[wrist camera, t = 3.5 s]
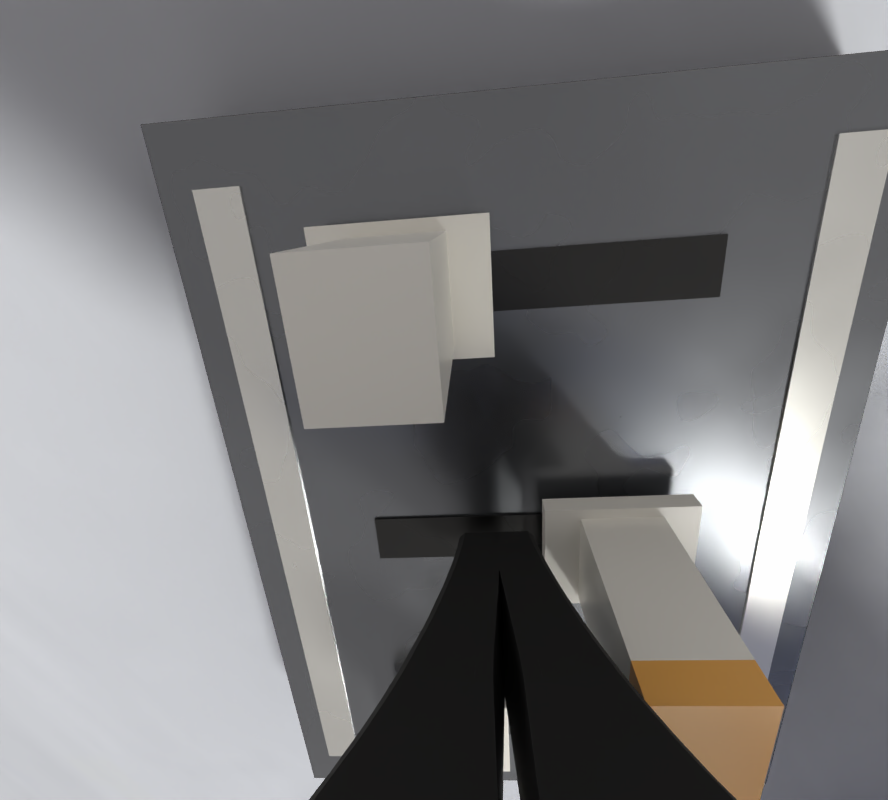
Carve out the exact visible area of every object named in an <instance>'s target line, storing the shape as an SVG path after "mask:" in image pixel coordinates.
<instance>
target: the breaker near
mask: <svg viewBox="0 0 888 800" xmlns="http://www.w3.org/2000/svg"><path fill="white" fill-rule="evenodd" d="M303 228H304V233H305V239H306V245H307V246H305V247H300V248H295V249H290V250H285V251H280V252H276V253H271V254H270V259H271V264H272V269H273V274H274V279H275V284H276V289H277V294H278V299H279V304H280V309H281V315H282V320H283V325H284V330H285V335H286V340H287V345H288V350H289V355H290V360H291V365H292V370H293V375H294V380H295V385H296V390H297V395H298V401H299V406H300V411H301V416H302V421H303V426H304V429H319V428H341V427H363V426H384V425H406V424H428V423H444V420H445V412H446V405H447V397H448V390H449V382H450V375H451V368H452V360H453V359H468V358H486V357H495V350H494V323H493V296H492V270H491V243H490V216H489V212H488V213H476V214H463V215H451V216H438V217H426V218H413V219H400V220H388V221H375V222H363V223H350V224H338V225H325V226H312V227H303Z"/></svg>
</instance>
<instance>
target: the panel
mask: <svg viewBox="0 0 888 800" xmlns="http://www.w3.org/2000/svg"><path fill="white" fill-rule="evenodd" d="M141 128H142V131H143V135H144V139H145V143H146V146H147V150H148V154H149V158H150V161H151V165H152V169H153V173H154V176H155V180H156V184H157V188H158V191H159V195H160V199H161V203H162V206H163V210H164V214H165V218H166V221H167V225H168V229H169V233H170V237H171V240H172V244H173V248H174V252H175V255H176V259H177V263H178V267H179V270H180V274H181V278H182V282H183V285H184V289H185V293H186V297H187V300H188V304H189V308H190V312H191V315H192V319H193V323H194V327H195V330H196V334H197V338H198V342H199V345H200V349H201V353H202V357H203V361H204V364H205V368H206V372H207V376H208V379H209V383H210V387H211V391H212V394H213V398H214V402H215V406H216V409H217V413H218V417H219V421H220V424H221V428H222V432H223V436H224V439H225V443H226V447H227V451H228V454H229V458H230V462H231V466H232V470H233V473H234V477H235V481H236V485H237V488H238V492H239V496H240V500H241V503H242V507H243V511H244V515H245V518H246V522H247V526H248V530H249V533H250V537H251V541H252V545H253V548H254V552H255V556H256V560H257V563H258V567H259V571H260V575H261V579H262V582H263V586H264V590H265V594H266V597H267V601H268V605H269V609H270V612H271V616H272V620H273V624H274V627H275V631H276V635H277V639H278V642H279V646H280V650H281V654H282V657H283V661H284V665H285V669H286V672H287V676H288V680H289V684H290V688H291V691H292V695H293V699H294V703H295V706H296V710H297V714H298V718H299V721H300V725H301V729H302V733H303V736H304V740H305V744H306V748H307V751H308V755H309V759H310V763H311V766H312V770H313V774H314V778H326V777H327V776H328V774H329V773H330V772H331V770H332V769H333V767H334V766H335V765H336V763H337V762H338V761H339V759H340V758H341V756H342V755H343V754H344V752H345V751H346V750H347V748H348V747H349V745H350V744H351V743H352V741H353V740H354V739H355V737H356V736H357V734H358V733H359V732H360V730H361V729H362V727H363V726H364V724H365V723H366V721H367V720H368V718H369V717H370V715H371V714H372V712H373V711H374V709H375V708H376V706H377V705H378V703H379V702H380V700H381V699H382V697H383V696H384V694H385V692H386V691H387V689H388V688H389V686H390V684H391V683H392V681H393V679H394V678H395V676H396V675H397V673H398V671H399V670H400V668H401V666H402V664H403V663H404V661H405V659H406V657H407V655H408V654H409V652H410V650H411V648H412V646H413V645H414V643H415V641H416V639H417V637H418V636H419V634H420V632H421V630H422V628H423V626H424V625H425V623H426V621H427V619H428V617H429V615H430V612H431V610H432V608H433V606H434V604H435V602H436V600H437V598H438V595H439V593H440V591H441V589H442V587H443V585H444V582H445V580H446V577H447V575H448V572H449V570H450V567H451V565H452V562H453V559H454V556H455V553H456V550H457V546H458V542H459V538H460V537H461V536H462V535H463V534H464V533H471V532H505V531H528V532H530V533H531V534H532V535H533V536H534V538H535V541H536V543H537V545H538V547H539V549H540V551H541V553H542V499H558V498H589V497H619V496H650V495H681V494H694V496H695V497H696V498H697V500H698V501H699V502H700V503H701V505H702V506H703V508H702V515H701V522H700V529H699V536H698V544H697V551H696V558H695V566H696V567H697V569H698V571H699V572H700V574H701V575H702V577H703V578H704V580H705V582H706V583H707V585H708V586H709V588H710V589H711V591H712V593H713V594H714V596H715V597H716V599H717V601H718V602H719V604H720V605H721V607H722V608H723V610H724V612H725V613H726V615H727V616H728V618H729V620H730V621H731V623H732V624H733V626H734V627H735V629H736V631H737V632H738V634H739V635H740V637H741V638H742V640H743V642H744V643H745V645H746V646H747V648H748V650H749V651H750V653H751V654H752V656H753V657H754V659H755V661H756V662H757V664H758V665H759V667H760V669H761V670H762V672H763V673H764V675H765V676H766V678H767V680H768V681H769V683H770V684H771V686H772V687H773V689H774V691H775V692H776V694H777V695H778V697H779V699H780V700H781V702H782V703H783V705H784V710H783V714H782V717H781V721H780V725H779V729H778V733H777V737H776V740H775V744H774V748H773V752H772V756H771V760H770V763H769V767H768V771H767V775H766V779H765V784H766V781H767V778H768V774H769V770H770V766H771V762H772V759H773V755H774V751H775V747H776V743H777V739H778V736H779V732H780V728H781V724H782V720H783V717H784V713H785V709H786V705H787V701H788V698H789V694H790V690H791V686H792V682H793V679H794V675H795V671H796V667H797V663H798V660H799V656H800V652H801V648H802V644H803V641H804V637H805V633H806V629H807V625H808V622H809V618H810V614H811V610H812V606H813V603H814V599H815V595H816V591H817V587H818V584H819V580H820V576H821V572H822V568H823V565H824V561H825V557H826V553H827V549H828V546H829V542H830V538H831V534H832V530H833V526H834V523H835V519H836V515H837V511H838V507H839V504H840V500H841V496H842V492H843V488H844V485H845V481H846V477H847V473H848V469H849V466H850V462H851V458H852V454H853V450H854V447H855V443H856V439H857V435H858V431H859V428H860V424H861V420H862V416H863V412H864V409H865V405H866V401H867V397H868V393H869V390H870V386H871V382H872V378H873V374H874V371H875V367H876V363H877V359H878V355H879V352H880V348H881V344H882V340H883V336H884V332H885V329H886V325H887V321H888V50H885V51H875V52H865V53H855V54H845V55H835V56H825V57H815V58H805V59H795V60H785V61H775V62H765V63H754V64H744V65H734V66H724V67H714V68H704V69H694V70H684V71H674V72H664V73H654V74H644V75H634V76H624V77H614V78H604V79H594V80H584V81H574V82H563V83H553V84H543V85H533V86H523V87H513V88H503V89H493V90H483V91H473V92H463V93H453V94H443V95H433V96H423V97H413V98H403V99H393V100H382V101H372V102H362V103H352V104H342V105H332V106H322V107H312V108H302V109H292V110H282V111H272V112H262V113H252V114H242V115H232V116H222V117H212V118H202V119H191V120H181V121H171V122H161V123H151V124H141ZM488 212H489V216H490V243H491V270H492V296H493V323H494V350H495V357H486V358H468V359H453V360H452V368H451V375H450V382H449V390H448V397H447V405H446V412H445V420H444V423H428V424H406V425H384V426H363V427H341V428H319V429H304V426H303V421H302V416H301V411H300V406H299V401H298V395H297V390H296V385H295V380H294V375H293V370H292V365H291V360H290V355H289V350H288V345H287V340H286V335H285V330H284V325H283V320H282V315H281V309H280V304H279V299H278V294H277V289H276V284H275V279H274V274H273V269H272V264H271V259H270V254H271V253H276V252H280V251H285V250H290V249H295V248H300V247H305V246H307V245H306V239H305V233H304V228H303V227H312V226H325V225H338V224H350V223H363V222H375V221H388V220H400V219H413V218H426V217H438V216H451V215H463V214H476V213H488ZM572 605H573V606H574V607H575V609H576V610H577V612H578V613H579V615H580V616H581V618H582V619H583V621H584V622H585V618H584V615H583V611H582V608H581V604H580V603H572ZM585 624H586V622H585ZM508 726H509V721H508ZM509 753H510V771H503V780H517V774H516V767H515V761H514V754H513V747H512V741H511V734H510V727H509Z"/></svg>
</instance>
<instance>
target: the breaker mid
mask: <svg viewBox="0 0 888 800" xmlns="http://www.w3.org/2000/svg"><path fill="white" fill-rule="evenodd" d="M702 508H703V506H702V505H701V503H700V502H699V501H698V500H697V498H696V497H695V496H694V494H681V495H650V496H619V497H589V498H558V499H542V555H543V557H544V559H545V561H546V562H547V564H548V566H549V568H550V570H551V571H552V573H553V575H554V576H555V578H556V580H557V581H558V583H559V585H560V586H561V588H562V589H563V591H564V592H565V594H566V596H567V597H568V599H569V600H570V602H571V603H580V604H581V608H582V611H583V615H584V618H585V622H586V625H587V627H588V628H589V629H590V631H591V632H592V633H593V635H594V636H595V638H596V639H597V640H598V642H599V643H600V644H601V646H602V647H603V648H604V650H605V651H606V652H607V654H608V655H609V656H610V657H611V659H612V660H613V661H614V663H615V664H616V665H617V667H618V668H619V669H620V671H621V672H622V673H623V674H624V675H625V677H626V678H627V679H628V680H629V682H630V683H631V684H632V685H633V687H634V688H635V689H636V690H637V691H638V693H639V694H640V695H641V696H642V697H643V699H644V700H645V701H646V702H647V703H648V705H649V706H650V707H651V708H652V709H653V710H654V711H655V713H656V714H657V715H658V716H659V717H660V718H661V719H662V721H663V722H664V723H665V724H666V725H667V726H668V727H669V729H670V730H671V731H672V732H673V733H674V734H675V735H676V736H677V737H678V739H679V740H680V741H681V742H682V743H683V744H684V745H685V746H686V747H687V748H688V749H689V750H690V752H691V753H692V754H693V755H694V756H695V757H696V758H697V759H698V760H699V761H700V762H701V763H702V764H703V766H704V767H705V768H706V769H707V770H708V771H709V772H710V773H711V774H712V775H713V776H714V777H715V778H716V779H717V780H718V781H719V782H720V783H721V784H722V785H723V786H724V787H725V788H726V789H727V790H728V791H729V792H730V793H731V794H732V795H733V796H734V797H735V798H736V799H737V800H760V798H761V794H762V790H763V786H764V783H765V779H766V775H767V771H768V767H769V763H770V760H771V756H772V752H773V748H774V744H775V740H776V737H777V733H778V729H779V725H780V721H781V717H782V714H783V710H784V705H783V703H782V702H781V700H780V699H779V697H778V695H777V694H776V692H775V691H774V689H773V687H772V686H771V684H770V683H769V681H768V680H767V678H766V676H765V675H764V673H763V672H762V670H761V669H760V667H759V665H758V664H757V662H756V661H755V659H754V657H753V656H752V654H751V653H750V651H749V650H748V648H747V646H746V645H745V643H744V642H743V640H742V638H741V637H740V635H739V634H738V632H737V631H736V629H735V627H734V626H733V624H732V623H731V621H730V620H729V618H728V616H727V615H726V613H725V612H724V610H723V608H722V607H721V605H720V604H719V602H718V601H717V599H716V597H715V596H714V594H713V593H712V591H711V589H710V588H709V586H708V585H707V583H706V582H705V580H704V578H703V577H702V575H701V574H700V572H699V571H698V569H697V567H696V566H695V558H696V551H697V544H698V536H699V529H700V522H701V515H702Z"/></svg>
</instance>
